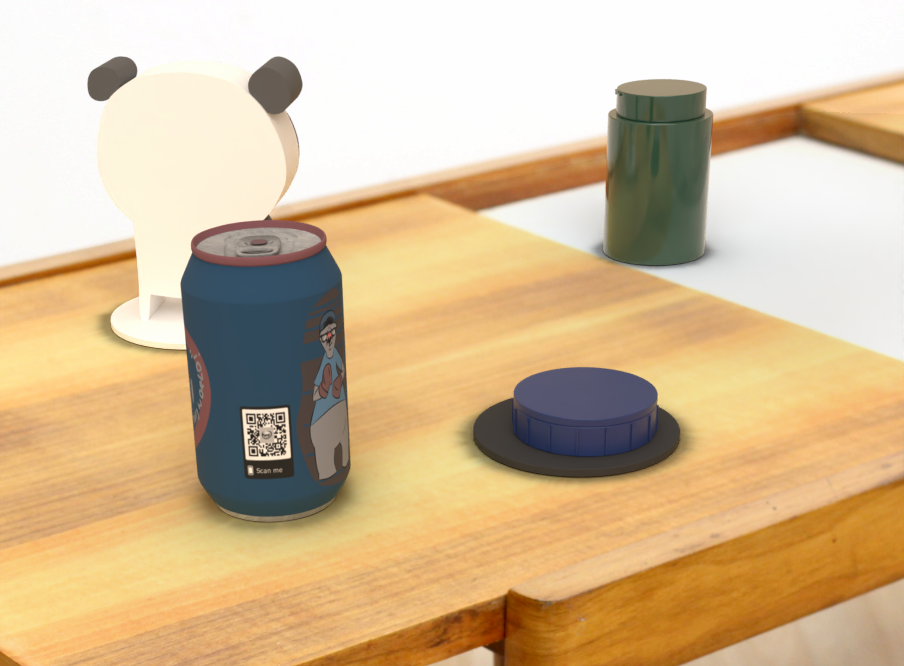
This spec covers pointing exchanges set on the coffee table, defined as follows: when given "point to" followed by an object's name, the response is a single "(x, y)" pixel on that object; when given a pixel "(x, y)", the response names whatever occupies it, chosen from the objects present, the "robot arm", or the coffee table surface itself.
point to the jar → (657, 172)
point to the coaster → (508, 449)
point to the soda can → (267, 368)
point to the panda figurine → (189, 167)
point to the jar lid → (585, 411)
